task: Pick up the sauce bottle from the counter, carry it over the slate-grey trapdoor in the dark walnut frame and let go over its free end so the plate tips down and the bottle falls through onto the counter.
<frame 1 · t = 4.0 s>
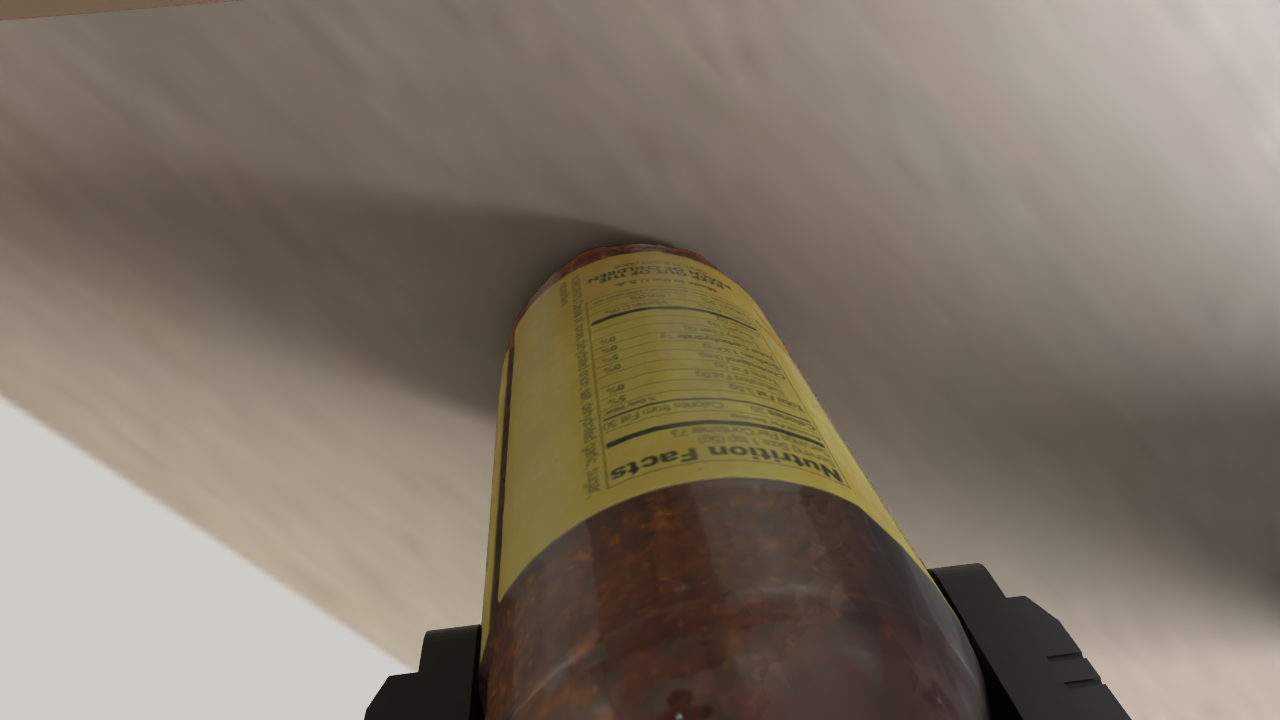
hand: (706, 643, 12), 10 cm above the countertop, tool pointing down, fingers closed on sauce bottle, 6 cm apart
sauce bottle: (636, 339, 21), on the countertop, touching gripper
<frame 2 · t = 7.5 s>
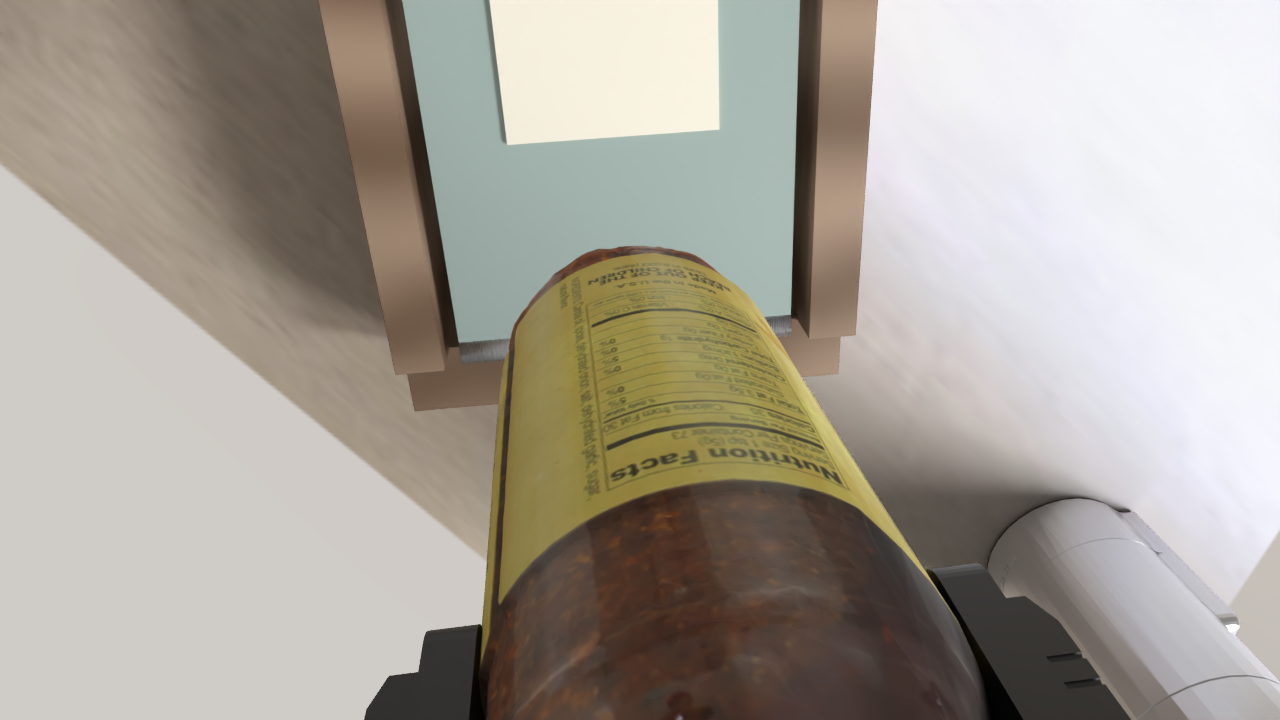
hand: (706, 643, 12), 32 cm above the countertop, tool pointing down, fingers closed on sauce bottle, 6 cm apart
sauce bottle: (636, 341, 21), point 22 cm above the countertop, touching gripper
trapdoor: (614, 155, 33), point 8 cm above the countertop, hinge at 0.0°
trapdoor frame: (603, 107, 40), on the countertop
when the fingers open (20 cm above the countertop, at t = 11.0 s): sauce bottle drops 6 cm, resting on trapdoor.
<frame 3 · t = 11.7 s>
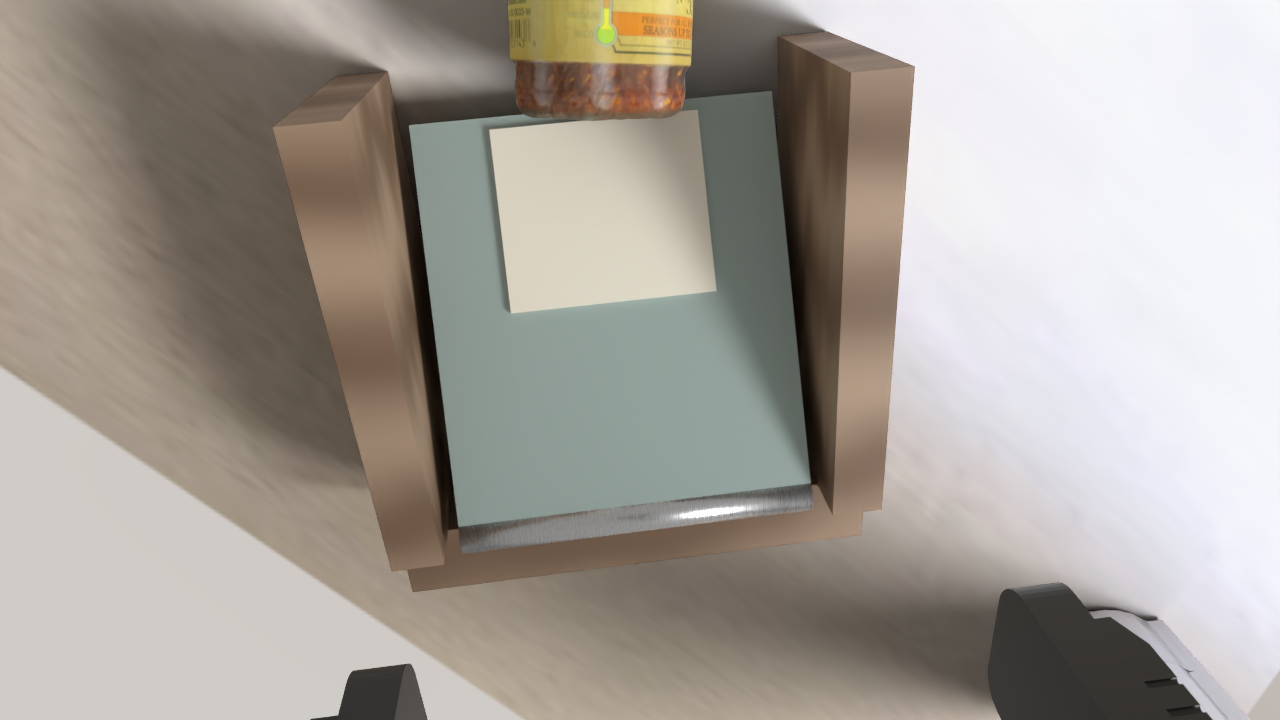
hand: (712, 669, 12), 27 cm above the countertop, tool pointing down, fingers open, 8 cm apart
sauce bottle: (603, 123, 31), point 5 cm above the countertop, touching trapdoor
trapdoor: (616, 323, 34), point 5 cm above the countertop, hinge at -24.6°, touching sauce bottle
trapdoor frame: (605, 256, 38), on the countertop
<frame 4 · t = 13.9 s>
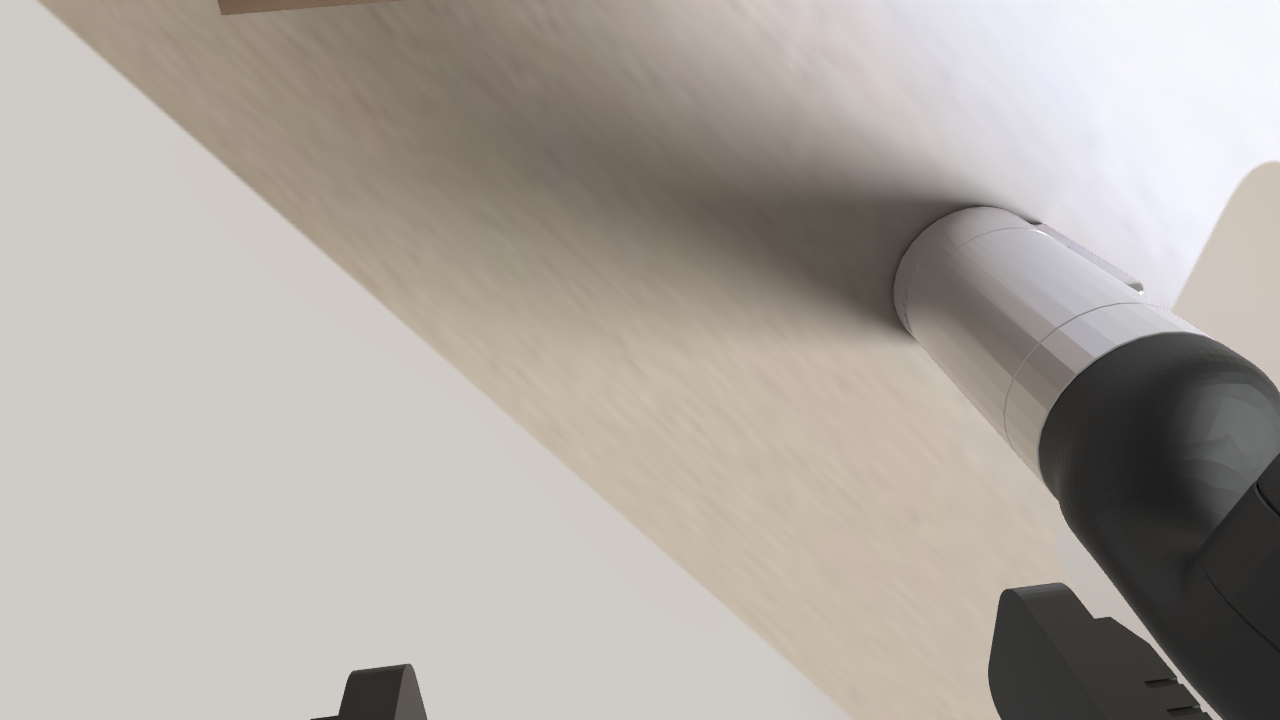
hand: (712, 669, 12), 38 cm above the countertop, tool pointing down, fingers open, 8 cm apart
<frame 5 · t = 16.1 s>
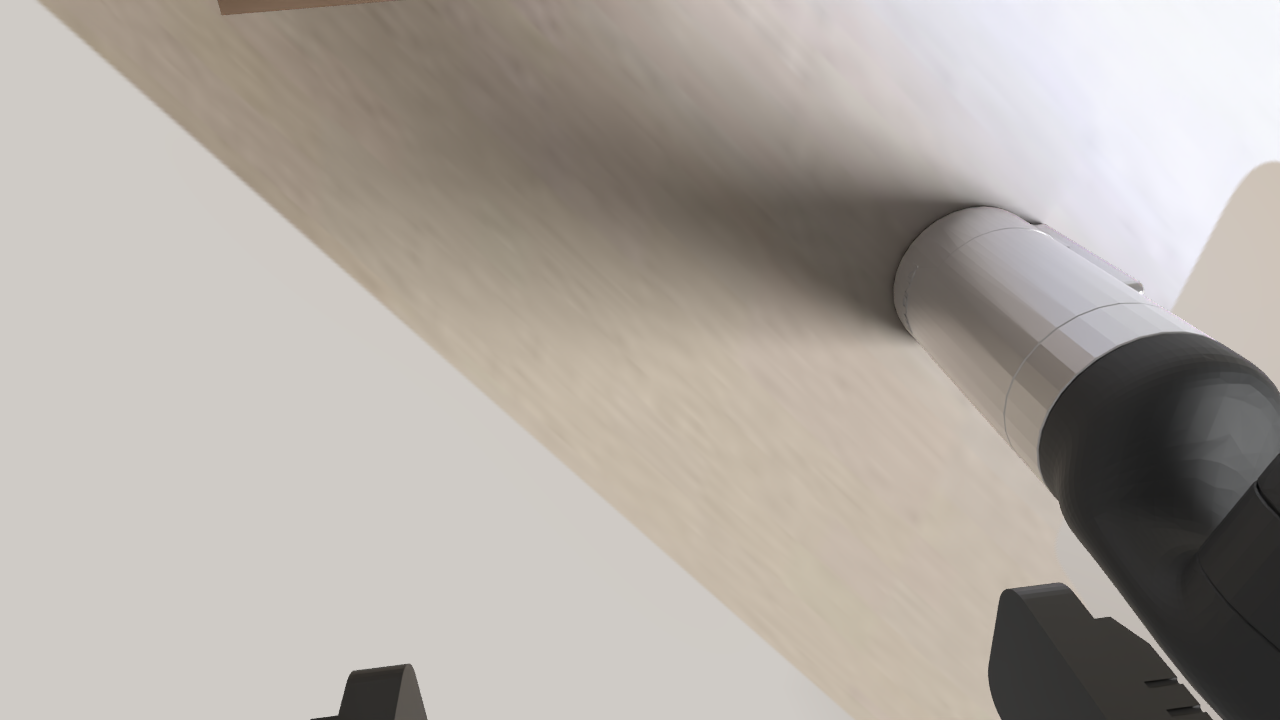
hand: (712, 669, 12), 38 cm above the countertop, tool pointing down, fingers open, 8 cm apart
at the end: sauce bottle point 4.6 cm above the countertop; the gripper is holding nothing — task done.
